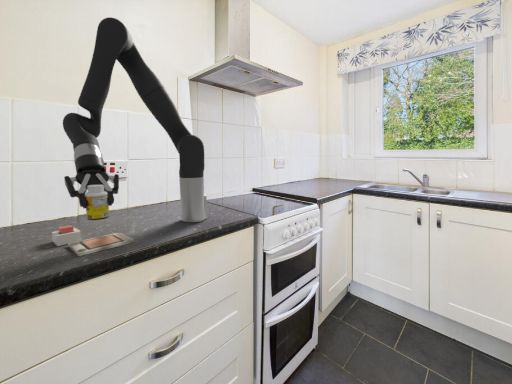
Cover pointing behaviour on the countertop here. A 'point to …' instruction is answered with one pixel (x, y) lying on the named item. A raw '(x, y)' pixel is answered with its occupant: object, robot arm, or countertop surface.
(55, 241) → the button housing
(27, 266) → the countertop surface
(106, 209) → the supplement bottle
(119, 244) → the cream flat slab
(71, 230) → the button
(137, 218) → the countertop surface
